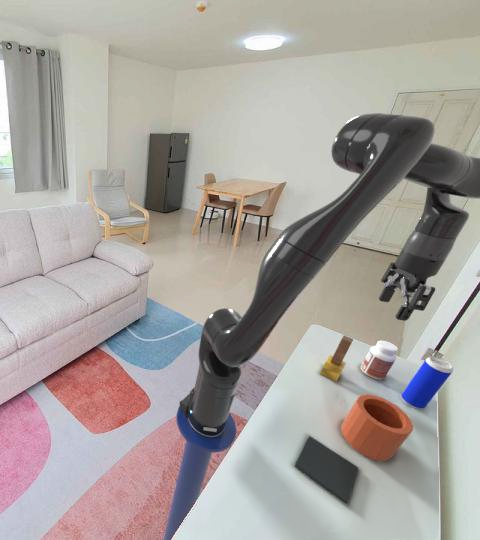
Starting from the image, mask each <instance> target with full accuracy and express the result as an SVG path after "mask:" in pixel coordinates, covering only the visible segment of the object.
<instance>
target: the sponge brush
mask: <svg viewBox="0 0 480 540" xmlns="http://www.w3.org/2000/svg"><path fill="white" fill-rule="evenodd" d="M353 342H354V339H353V338H351V337H349V336H347V335H342V338H341V339H340V341H339V343H338V346H337V348H336V349H335V352H334V354H333V355H331V354H329V355H328V357H327V359H326V360H325V362H324V364H323V365H322V368H321V370H320V372H319V374H320V375H322V376H323V377H326V378H327V379H330V380H331V381H334V382H335V383H336V382H337V381H338V380H339V377H340V376H341V374H342V373H343V370H344V369H345V366H346V364H347V362H346V361H344V359H345V357H346V355H347V353H348V351H349V349H350V347H351V346H352V343H353Z"/></svg>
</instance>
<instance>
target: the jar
mask: <svg viewBox="0 0 480 540" xmlns="http://www.w3.org/2000/svg"><path fill="white" fill-rule="evenodd" d="M340 429H341V434H342V436H343V438H344V439H345V441H346V442H347V443H348V444H349V445H350V447H352V448H353V449H354V450H355V451H357V452H358V453H359V454H361V455H363V456H364V457H367V458H368V459H371V460H375V461H377V462H378V461H379V462H387V461H390V459H392V458H393V456H395V454H396V453H397V452H398V450H399V449H400V448H401V446H402V445H403V444H404V443H405V441H406V440H407V439H408V438H409V436H410V435H411V434H412V432H413V431H414V424H413V422H412V419H411V418H410V417H409V415H408V414H407V413H406V412H405V411H404V410H403V409H401V407H399V406H397V405H396V404H395V403H393V402H392V401H389V400H388V399H386V398H383V397H381V396H378V395H374V394H368V393H367V394H361V395H359V396H358V397H357V398H356V399H355V401H354V403H353V405H352V406H351V408H350V410H349V412H348V413H347V415H346V417H345V418H344V420H343V421H342V423H341V426H340Z"/></svg>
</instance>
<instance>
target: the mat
mask: <svg viewBox="0 0 480 540" xmlns="http://www.w3.org/2000/svg"><path fill="white" fill-rule="evenodd" d="M294 467H295V468H297V469H298V470H299V471H300V472H302V473H303V474H305V475H306V476H307V477H309V478H310V479H311V480H313V481H315V482H316V483H317V484H318V485H320V486H321V487H322V488H324V489H325V490H326V491H328V492H329V493H331V494H332V495H334V496H335V497H336V498H337V499H339V500H340V501H341V502H343V503H345V504H348V503H349V500H350V496H351V494H352V491H353V490H352V489H353V486H354V483H355V479H356V476H357V472H358V469H359V467H358V466H356V465H355V464H353V463H352V462H350V461H349V460H347V459H346V458H344V457H343V456H342V455H339V454H338V453H337V452H335V451H333V450H332V449H331V448H329V447H328V446H326V445H325V444H323V443H321V442H320V441H318V440H317V439H315V438H314V437H312V436H310V435H309V436H308V437H307V439H306V440H305V443H304V445H303V447H302V450H301V452H300V453H299V456H298V458H297V460H296V462H295V464H294Z"/></svg>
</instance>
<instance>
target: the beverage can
mask: <svg viewBox="0 0 480 540" xmlns="http://www.w3.org/2000/svg"><path fill="white" fill-rule="evenodd" d="M453 372H454V366H453V364H452V363H450V362H449V361H447V360H445V359H444V358H441V357H439V356H433V355H432V356H429V357H427V358H426V359H425V360H424V361H423V363H422V364H421V365H420V367H419V368H418V370H417V371H416V372H415V374H414V376H413V377H412V378H411V380H410V382H409V383H407V384H408V385H407V386H406V387H405V388H404V389H403V391H402V393H401V394H400V395H401V399H402V401H403V402H404V403H405V404H406V405H408V406H410V407H412V408H414V409H419V410H420V409H421V410H422V409H425V408H426V407H427V406H428V405H429V403H430V402H431V401H432V399H433V398H434V397H435V396H436V394H437V393H438V392H439V390H440V389H441V387H443V386H444V384H445V382H446V381H447V380H448V379H449V377H450V376H451V375H452V374H453Z"/></svg>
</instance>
